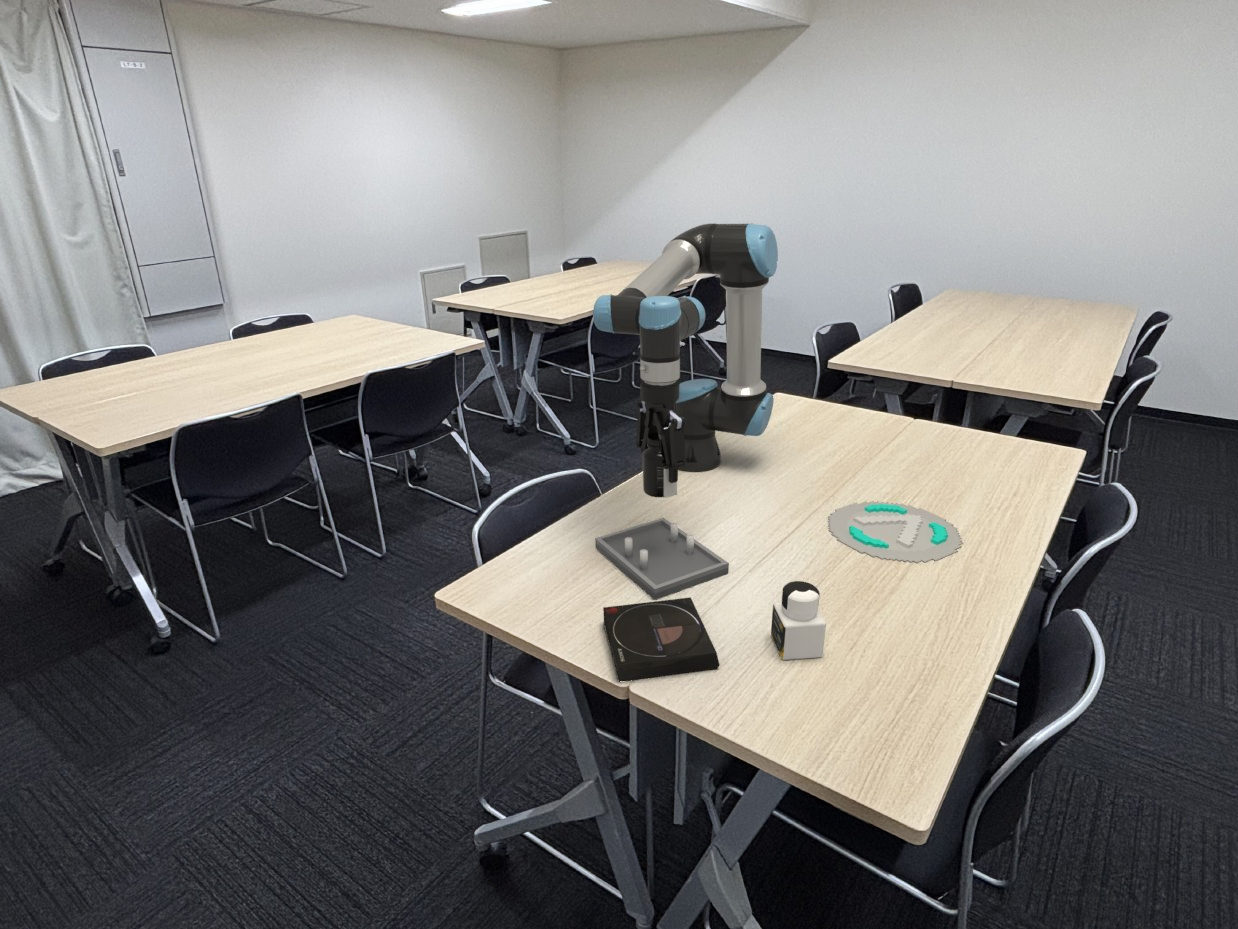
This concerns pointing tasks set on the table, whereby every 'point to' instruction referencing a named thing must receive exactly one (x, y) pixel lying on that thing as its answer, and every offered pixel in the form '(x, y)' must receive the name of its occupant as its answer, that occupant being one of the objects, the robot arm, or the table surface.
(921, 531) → the grey symbol plate
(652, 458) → the supplement bottle
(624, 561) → the pin tray
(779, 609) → the medicine bottle
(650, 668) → the portable cd player
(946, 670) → the table surface
